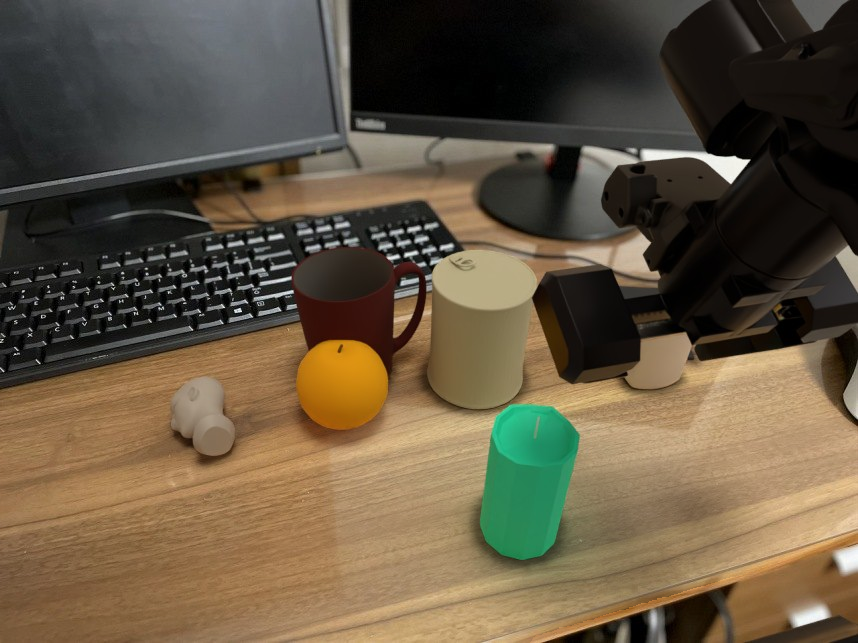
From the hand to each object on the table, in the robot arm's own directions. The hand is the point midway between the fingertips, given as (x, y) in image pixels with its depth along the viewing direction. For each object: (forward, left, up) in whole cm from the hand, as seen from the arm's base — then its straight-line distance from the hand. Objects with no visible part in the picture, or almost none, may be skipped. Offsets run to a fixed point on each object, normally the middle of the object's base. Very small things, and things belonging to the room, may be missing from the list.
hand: (640, 364), depth 46 cm
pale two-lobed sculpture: (+24, +24, -14) cm, 37 cm away
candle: (+1, +8, -14) cm, 16 cm away
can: (+16, 0, -14) cm, 22 cm away
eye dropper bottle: (+6, -14, -14) cm, 21 cm away
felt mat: (+13, -20, -14) cm, 28 cm away
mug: (+23, +8, -14) cm, 28 cm away
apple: (+19, +13, -14) cm, 27 cm away
